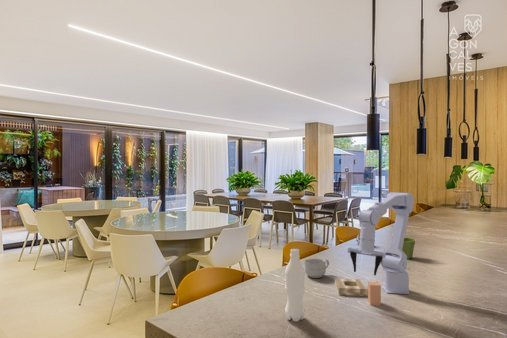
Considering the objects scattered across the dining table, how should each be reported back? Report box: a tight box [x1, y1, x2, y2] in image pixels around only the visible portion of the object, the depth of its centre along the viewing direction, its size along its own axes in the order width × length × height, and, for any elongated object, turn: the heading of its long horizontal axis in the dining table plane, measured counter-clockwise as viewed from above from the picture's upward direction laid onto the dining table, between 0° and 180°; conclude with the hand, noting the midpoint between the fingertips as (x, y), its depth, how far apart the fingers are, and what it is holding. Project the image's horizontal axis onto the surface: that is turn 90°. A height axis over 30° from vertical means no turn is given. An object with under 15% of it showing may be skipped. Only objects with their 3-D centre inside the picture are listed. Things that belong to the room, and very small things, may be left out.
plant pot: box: [398, 237, 417, 260], centre depth 195 cm, size 12×12×11 cm
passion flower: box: [353, 233, 360, 245], centre depth 226 cm, size 11×11×12 cm
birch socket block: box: [334, 277, 368, 297], centre depth 142 cm, size 12×12×3 cm
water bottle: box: [284, 248, 306, 323], centre depth 116 cm, size 7×7×25 cm
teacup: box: [303, 258, 330, 279], centre depth 162 cm, size 14×11×8 cm
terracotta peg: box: [367, 281, 382, 306], centre depth 129 cm, size 4×4×8 cm
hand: (364, 273), depth 129 cm, fingers open, 7 cm apart
